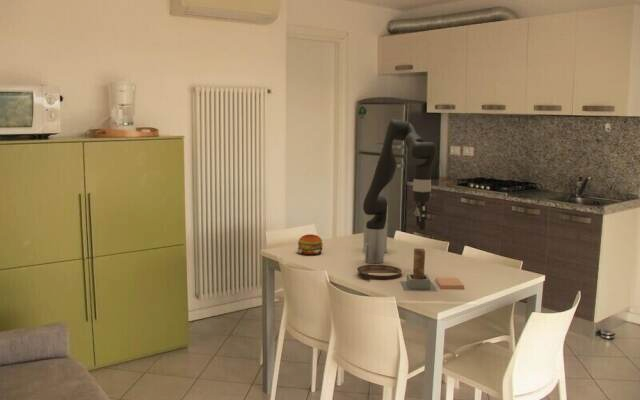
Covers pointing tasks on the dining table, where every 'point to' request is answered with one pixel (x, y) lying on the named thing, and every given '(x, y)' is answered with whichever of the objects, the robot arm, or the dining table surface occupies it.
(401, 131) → the robot arm
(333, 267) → the dining table surface
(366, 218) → the cylinder vase
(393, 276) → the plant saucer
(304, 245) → the burger
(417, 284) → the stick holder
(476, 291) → the dining table surface
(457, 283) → the tile
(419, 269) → the wooden stick
